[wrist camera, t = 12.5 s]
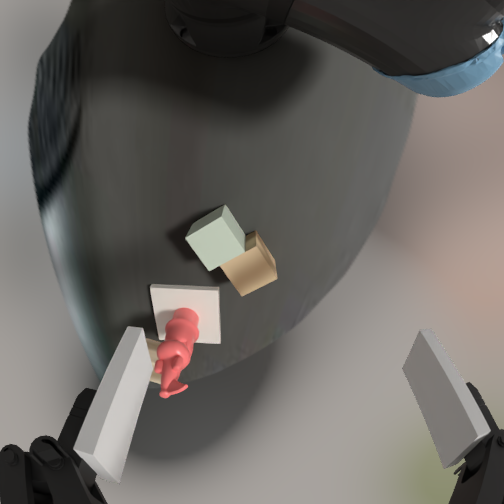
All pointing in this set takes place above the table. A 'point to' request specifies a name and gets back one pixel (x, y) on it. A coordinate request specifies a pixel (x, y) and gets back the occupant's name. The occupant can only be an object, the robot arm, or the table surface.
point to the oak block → (251, 266)
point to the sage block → (216, 238)
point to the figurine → (176, 350)
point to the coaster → (193, 298)
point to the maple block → (153, 359)
